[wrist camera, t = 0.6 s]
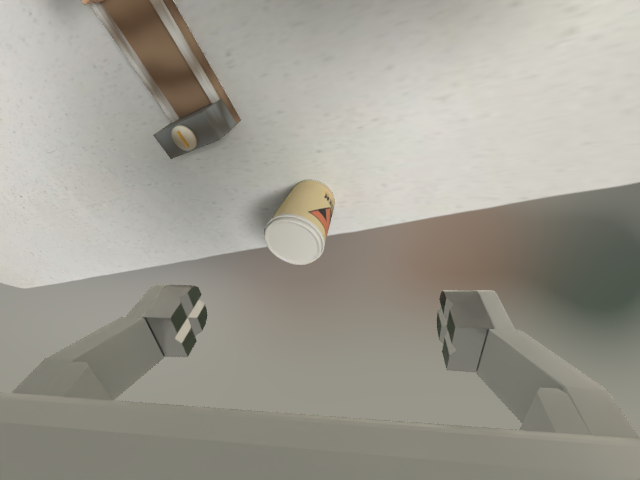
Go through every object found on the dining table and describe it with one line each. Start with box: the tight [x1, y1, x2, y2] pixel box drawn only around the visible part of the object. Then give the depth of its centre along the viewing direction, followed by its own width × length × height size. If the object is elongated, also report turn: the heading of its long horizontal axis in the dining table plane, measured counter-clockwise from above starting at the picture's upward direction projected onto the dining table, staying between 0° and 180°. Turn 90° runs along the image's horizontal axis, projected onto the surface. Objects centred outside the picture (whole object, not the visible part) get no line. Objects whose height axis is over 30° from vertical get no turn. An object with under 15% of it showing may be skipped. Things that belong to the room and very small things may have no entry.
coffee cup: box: [264, 180, 335, 265], centre depth 52 cm, size 9×9×12 cm
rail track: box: [90, 0, 241, 159], centre depth 41 cm, size 34×10×8 cm, turn 25°
